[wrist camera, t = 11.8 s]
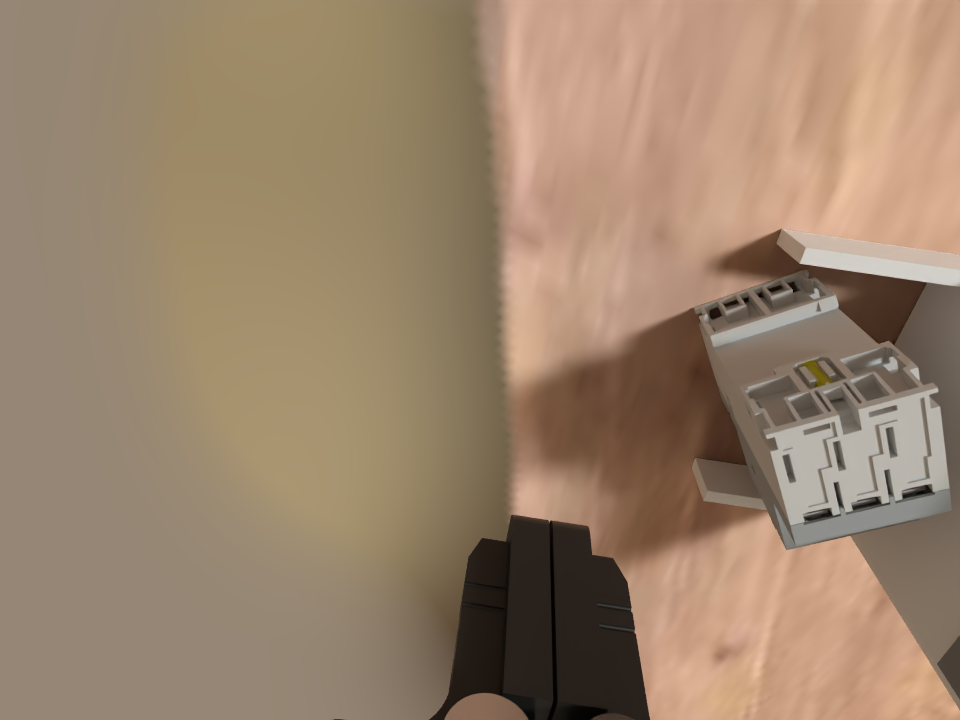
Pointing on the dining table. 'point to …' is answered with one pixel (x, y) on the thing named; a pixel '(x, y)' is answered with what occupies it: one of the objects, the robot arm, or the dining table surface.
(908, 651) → the dining table surface
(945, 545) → the panel bay
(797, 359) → the circuit breaker
